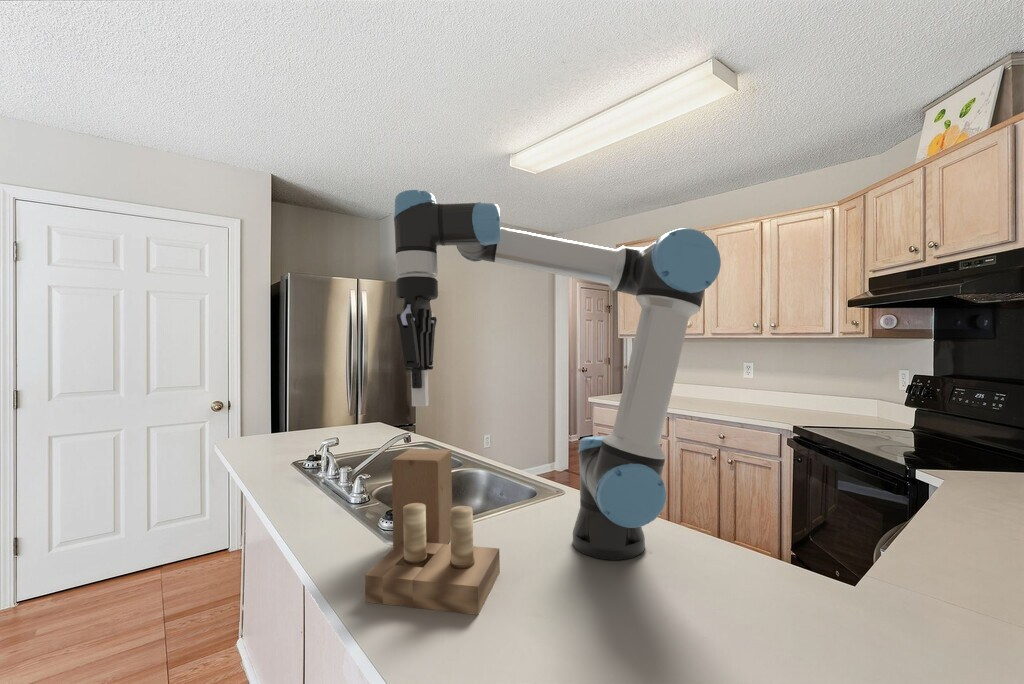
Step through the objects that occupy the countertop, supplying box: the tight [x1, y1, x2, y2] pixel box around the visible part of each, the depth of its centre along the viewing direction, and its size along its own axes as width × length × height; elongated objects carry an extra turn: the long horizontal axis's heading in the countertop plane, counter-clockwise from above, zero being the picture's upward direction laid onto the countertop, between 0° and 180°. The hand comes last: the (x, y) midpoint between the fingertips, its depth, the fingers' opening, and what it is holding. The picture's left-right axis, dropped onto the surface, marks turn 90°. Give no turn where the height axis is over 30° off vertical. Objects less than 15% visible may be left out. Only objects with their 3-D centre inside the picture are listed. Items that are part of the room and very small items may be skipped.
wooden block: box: [391, 448, 453, 550], centre depth 99 cm, size 10×10×20 cm
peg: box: [403, 503, 427, 568], centre depth 83 cm, size 4×4×14 cm
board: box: [364, 505, 501, 616], centre depth 82 cm, size 20×14×14 cm
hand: (420, 405), depth 84 cm, fingers closed
